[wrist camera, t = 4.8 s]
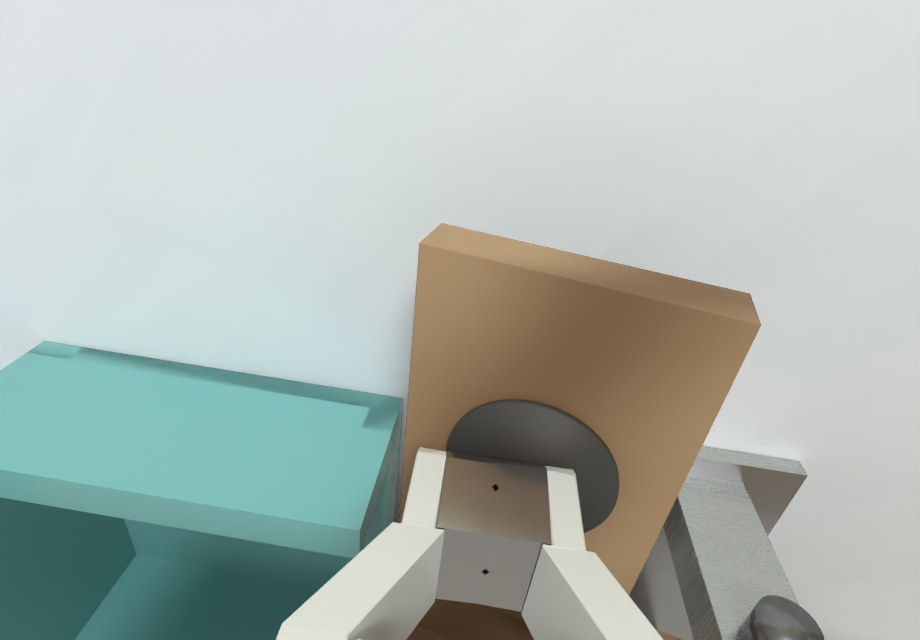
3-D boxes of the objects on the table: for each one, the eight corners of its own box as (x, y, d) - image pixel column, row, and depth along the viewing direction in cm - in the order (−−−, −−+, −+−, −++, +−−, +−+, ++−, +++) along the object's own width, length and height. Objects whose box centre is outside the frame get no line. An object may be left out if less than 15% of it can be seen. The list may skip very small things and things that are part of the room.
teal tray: (402, 398, 15) (335, 604, 10) (389, 597, 20) (341, 801, 15) (43, 341, 15) (-205, 509, 10) (122, 551, 20) (-15, 732, 15)
